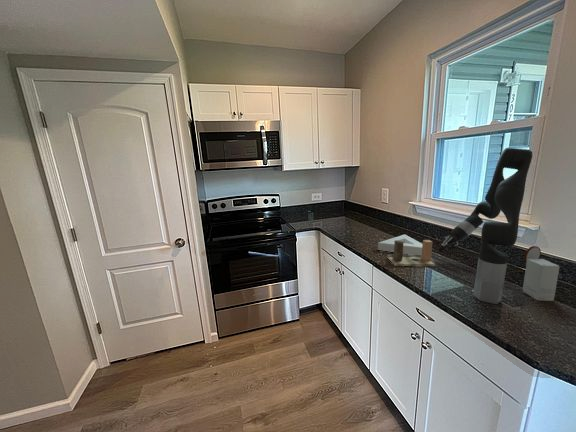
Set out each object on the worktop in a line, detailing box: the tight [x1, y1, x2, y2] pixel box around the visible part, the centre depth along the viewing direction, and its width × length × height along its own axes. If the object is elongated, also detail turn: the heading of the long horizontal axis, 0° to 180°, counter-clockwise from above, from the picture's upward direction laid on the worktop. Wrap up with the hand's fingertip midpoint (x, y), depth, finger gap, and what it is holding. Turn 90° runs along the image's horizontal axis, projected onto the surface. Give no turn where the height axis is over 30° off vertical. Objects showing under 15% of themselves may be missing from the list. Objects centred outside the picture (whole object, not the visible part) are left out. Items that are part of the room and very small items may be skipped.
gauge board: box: [386, 254, 436, 268], centre depth 144 cm, size 22×12×2 cm, turn 87°
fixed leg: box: [392, 240, 404, 261], centre depth 144 cm, size 4×6×11 cm, turn 177°
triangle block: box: [377, 234, 423, 255], centre depth 168 cm, size 30×26×6 cm
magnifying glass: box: [523, 245, 542, 264], centre depth 111 cm, size 9×2×20 cm, turn 103°
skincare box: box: [522, 258, 560, 302], centre depth 105 cm, size 8×7×16 cm
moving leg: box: [421, 239, 433, 261], centre depth 143 cm, size 4×6×11 cm, turn 177°
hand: (438, 251), depth 142 cm, fingers closed
